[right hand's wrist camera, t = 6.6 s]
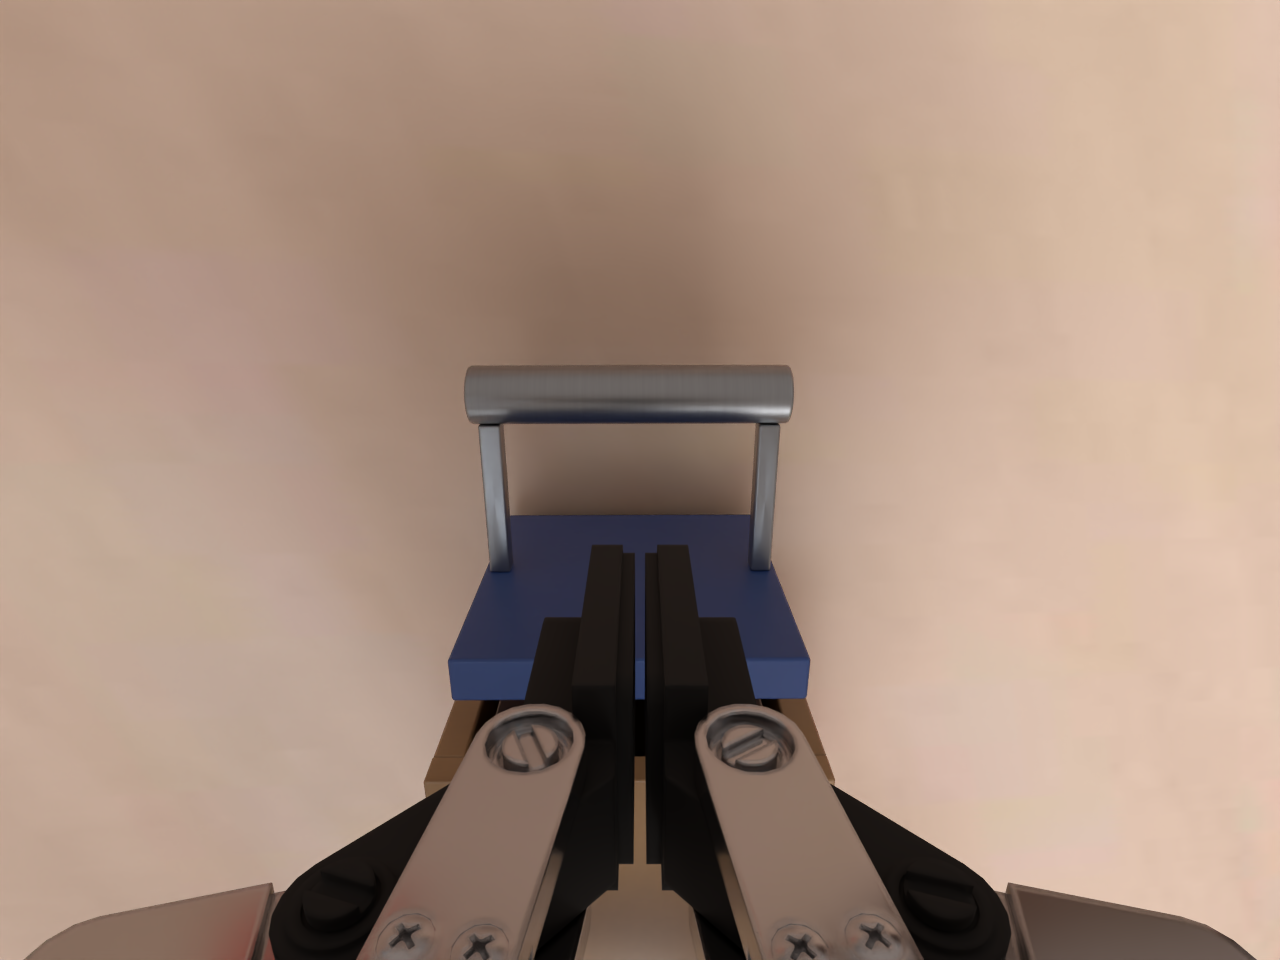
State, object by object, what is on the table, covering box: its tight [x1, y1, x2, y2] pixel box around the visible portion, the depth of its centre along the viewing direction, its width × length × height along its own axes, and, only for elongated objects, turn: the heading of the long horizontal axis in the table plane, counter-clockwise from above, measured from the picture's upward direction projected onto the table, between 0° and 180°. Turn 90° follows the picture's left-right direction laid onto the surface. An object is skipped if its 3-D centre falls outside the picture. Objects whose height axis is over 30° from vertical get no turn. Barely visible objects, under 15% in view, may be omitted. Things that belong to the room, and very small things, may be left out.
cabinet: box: [424, 698, 835, 960], centre depth 25 cm, size 21×10×11 cm, turn 0°
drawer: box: [448, 365, 810, 757], centre depth 23 cm, size 26×9×9 cm, turn 0°
